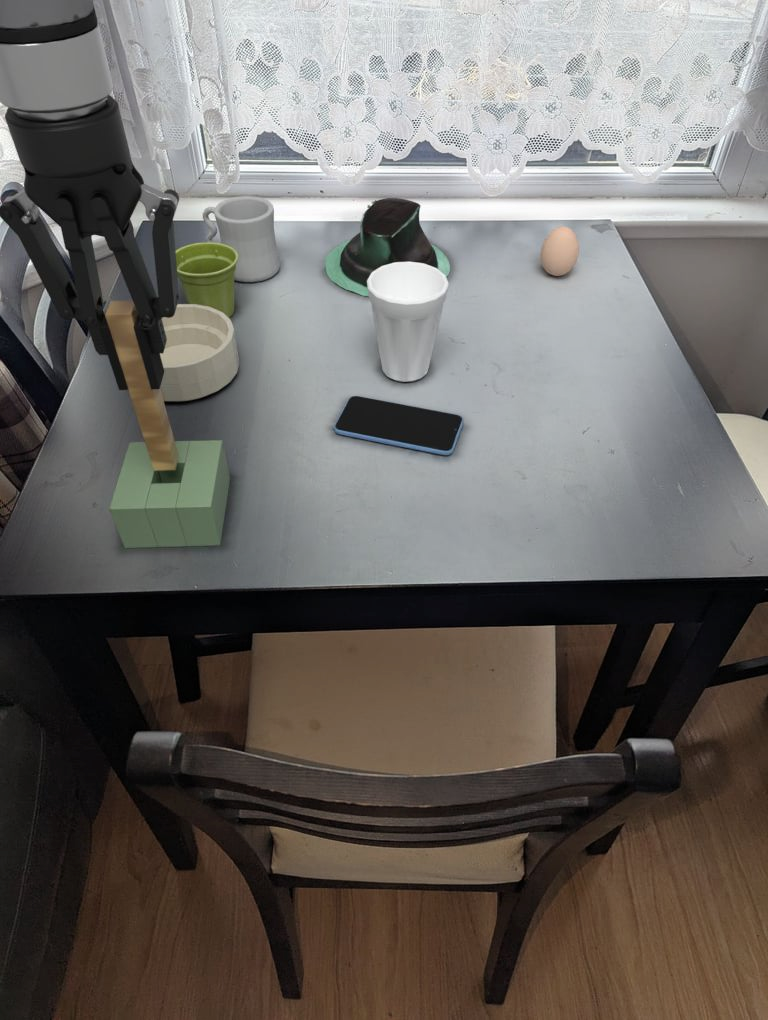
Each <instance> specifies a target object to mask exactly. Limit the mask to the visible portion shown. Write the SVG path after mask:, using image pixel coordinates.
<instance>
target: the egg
mask: <svg viewBox="0 0 768 1020" xmlns="http://www.w3.org/2000/svg"><path fill="white" fill-rule="evenodd" d="M579 254H580V245H579V241H578V236H577V235H576V233H575V232H574V230H572V229H571V228H570V227H568V226H559V227H556V228H554V229H553V230H552V231H550V232H549V234H548V235H547V236H546V238H545V239H544V241H543V243H542V246H541V250H540V262H541V265H542V267H543V269H544V270H545V271H546V272H547V273H548V274H549V275H552V276H555V277H558V276H559V277H560V276H564V275H565V274H567V273H569V272H570V271H571V270H572V269H573V268H574V267H575V265H576V264H577V262H578V258H579Z"/></svg>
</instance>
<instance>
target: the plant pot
mask: <svg viewBox="0 0 768 1020" xmlns="http://www.w3.org/2000/svg"><path fill="white" fill-rule="evenodd" d="M213 242H214V241H213ZM213 242H207V241H206V242H196V243H191V244H188V245H185V246H181V247H180V248H178V249H175V251H176V263H177V276H178V280H179V282H180V285H181V287H182V290H183V292H184V295H185V299H186V302H187V304H197V305H203V306H208V307H211V308H214V309H216V310H218V311H221V312H223V313H224V314H225V315H226V316H227V317H228V318H229V319H231V317H232V316H233V315H234V312H235V280H234V272H235V270H236V263H237V261H238V254H237V252H236V251H235V250H234V249H233V248H232V247H230V246H227V245H224V244H221V242H220V243H219V242H214V243H213Z"/></svg>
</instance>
